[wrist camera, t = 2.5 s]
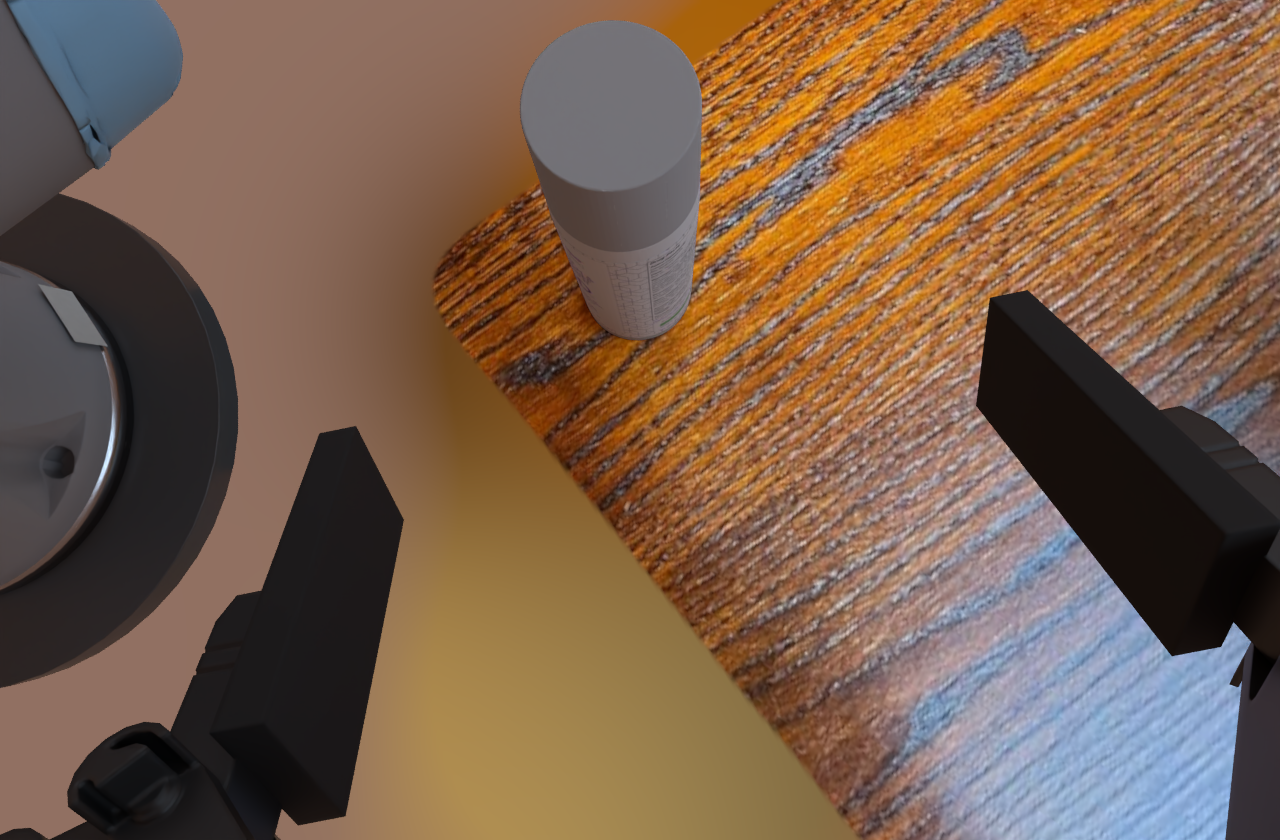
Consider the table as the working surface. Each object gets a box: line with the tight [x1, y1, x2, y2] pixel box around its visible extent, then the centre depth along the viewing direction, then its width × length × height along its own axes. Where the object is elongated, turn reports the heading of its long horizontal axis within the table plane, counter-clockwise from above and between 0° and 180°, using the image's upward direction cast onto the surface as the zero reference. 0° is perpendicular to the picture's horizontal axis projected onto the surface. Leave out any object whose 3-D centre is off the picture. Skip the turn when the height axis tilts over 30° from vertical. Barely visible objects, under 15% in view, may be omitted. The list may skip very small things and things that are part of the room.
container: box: [520, 20, 702, 340], centre depth 26 cm, size 5×5×15 cm
